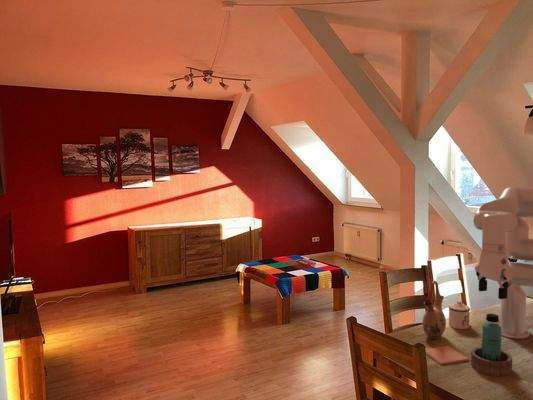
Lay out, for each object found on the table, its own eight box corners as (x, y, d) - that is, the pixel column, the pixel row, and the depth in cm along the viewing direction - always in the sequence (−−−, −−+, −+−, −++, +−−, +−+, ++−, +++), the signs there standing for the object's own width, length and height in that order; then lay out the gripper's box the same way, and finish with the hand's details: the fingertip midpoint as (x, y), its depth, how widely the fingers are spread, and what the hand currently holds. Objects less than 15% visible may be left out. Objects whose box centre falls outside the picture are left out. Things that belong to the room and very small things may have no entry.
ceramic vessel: (437, 346, 178) (437, 286, 176) (415, 340, 184) (416, 283, 182) (451, 334, 190) (452, 278, 188) (430, 329, 196) (431, 275, 194)
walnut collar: (492, 357, 166) (493, 345, 166) (519, 373, 154) (520, 360, 153) (463, 362, 163) (463, 349, 163) (488, 378, 151) (489, 364, 150)
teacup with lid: (465, 331, 193) (466, 305, 192) (445, 326, 199) (445, 301, 198) (474, 323, 201) (475, 299, 200) (454, 319, 208) (455, 295, 207)
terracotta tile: (448, 347, 176) (448, 346, 176) (468, 360, 164) (468, 358, 164) (422, 351, 173) (422, 349, 173) (440, 364, 162) (440, 362, 161)
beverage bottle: (477, 364, 161) (478, 312, 160) (494, 363, 162) (495, 311, 160) (487, 372, 155) (488, 318, 153) (505, 371, 155) (506, 317, 154)
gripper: (521, 251, 147) (520, 300, 149) (485, 243, 164) (484, 287, 165) (503, 253, 146) (501, 302, 147) (468, 244, 162) (467, 289, 164)
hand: (492, 294), depth 156 cm, fingers open, 9 cm apart
